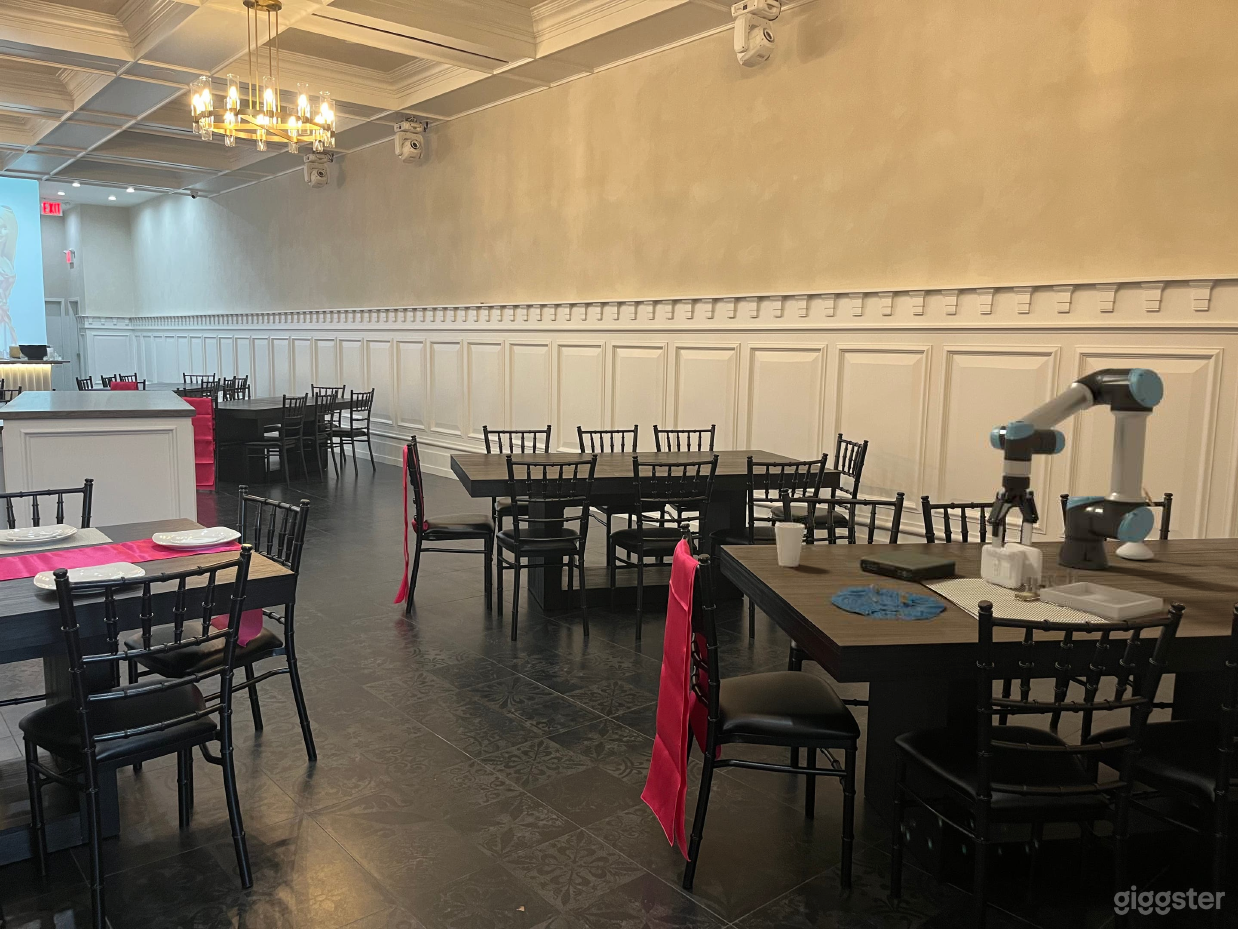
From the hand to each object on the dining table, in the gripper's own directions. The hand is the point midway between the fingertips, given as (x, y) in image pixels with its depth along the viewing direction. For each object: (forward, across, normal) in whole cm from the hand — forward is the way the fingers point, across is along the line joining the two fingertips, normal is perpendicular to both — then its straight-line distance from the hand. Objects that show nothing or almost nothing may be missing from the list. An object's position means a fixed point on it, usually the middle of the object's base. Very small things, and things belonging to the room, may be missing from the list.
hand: (1011, 546), depth 269 cm
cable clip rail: (+12, 0, +14) cm, 18 cm away
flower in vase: (+11, -76, -7) cm, 77 cm away
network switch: (+13, +14, -26) cm, 32 cm away
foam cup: (+13, +40, -52) cm, 67 cm away
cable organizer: (+12, 0, 0) cm, 12 cm away
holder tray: (+12, 0, +28) cm, 30 cm away
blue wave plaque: (+13, +50, +1) cm, 52 cm away
